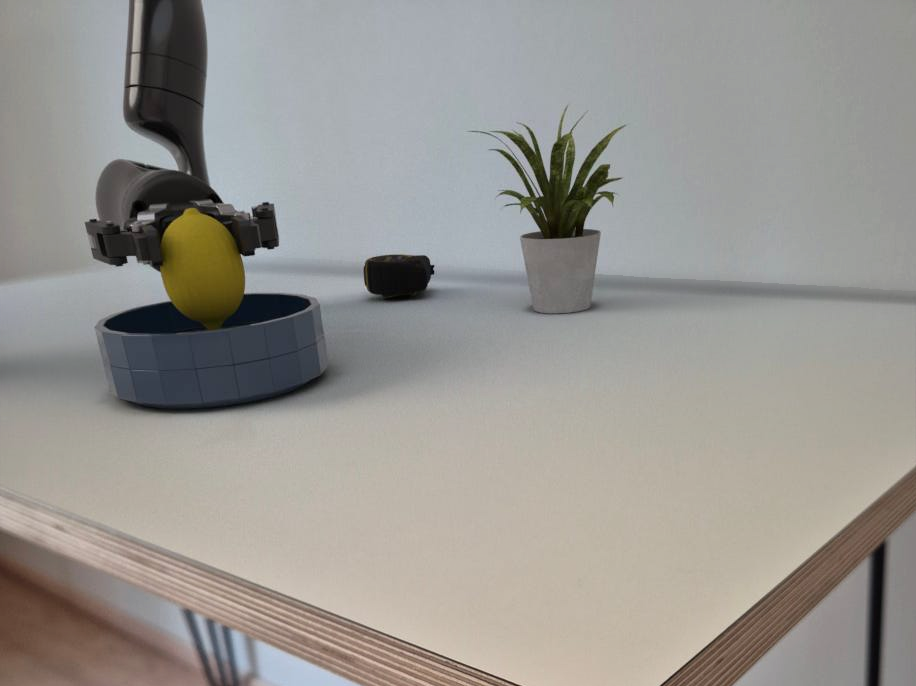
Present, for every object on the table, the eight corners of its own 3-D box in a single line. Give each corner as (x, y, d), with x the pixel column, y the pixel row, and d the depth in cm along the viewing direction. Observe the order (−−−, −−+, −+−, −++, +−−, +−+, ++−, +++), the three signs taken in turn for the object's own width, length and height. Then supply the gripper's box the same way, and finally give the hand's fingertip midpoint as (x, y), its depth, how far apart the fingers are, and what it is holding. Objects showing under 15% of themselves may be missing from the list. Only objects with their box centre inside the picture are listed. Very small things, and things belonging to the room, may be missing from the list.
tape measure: (428, 300, 95) (425, 260, 94) (360, 303, 96) (356, 263, 94) (436, 289, 101) (433, 250, 99) (372, 292, 102) (368, 254, 100)
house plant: (451, 326, 83) (435, 110, 75) (488, 297, 95) (477, 107, 87) (617, 323, 80) (619, 97, 72) (634, 293, 91) (637, 96, 83)
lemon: (196, 323, 71) (172, 205, 67) (266, 321, 70) (246, 201, 66) (160, 341, 66) (131, 214, 62) (234, 339, 65) (210, 210, 61)
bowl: (144, 427, 61) (125, 346, 58) (92, 383, 72) (75, 314, 70) (362, 383, 67) (353, 308, 65) (283, 349, 79) (273, 285, 76)
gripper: (67, 178, 73) (70, 191, 59) (256, 162, 77) (301, 170, 63) (92, 282, 77) (102, 317, 63) (272, 261, 81) (317, 290, 67)
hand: (202, 243), depth 63 cm, fingers closed on lemon, 5 cm apart
